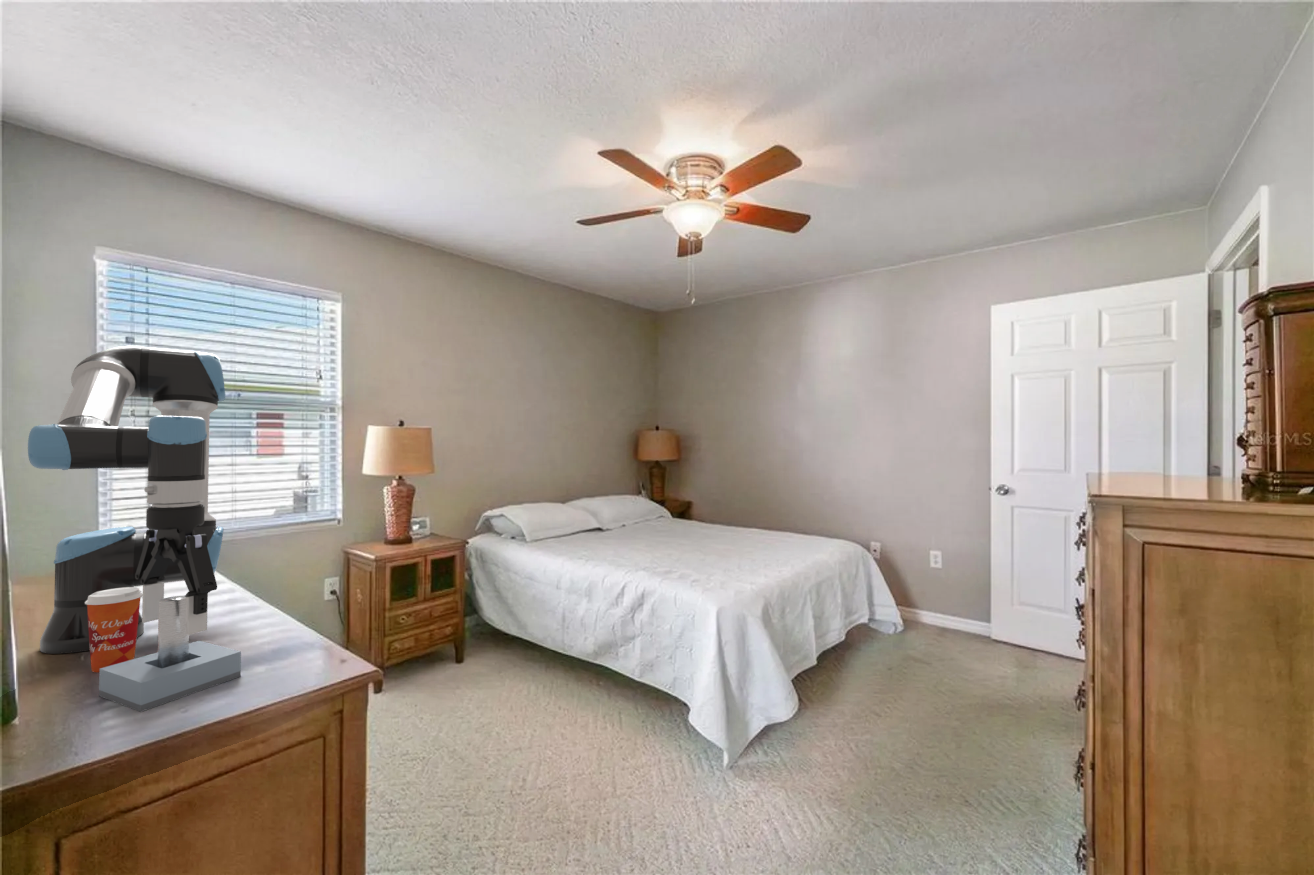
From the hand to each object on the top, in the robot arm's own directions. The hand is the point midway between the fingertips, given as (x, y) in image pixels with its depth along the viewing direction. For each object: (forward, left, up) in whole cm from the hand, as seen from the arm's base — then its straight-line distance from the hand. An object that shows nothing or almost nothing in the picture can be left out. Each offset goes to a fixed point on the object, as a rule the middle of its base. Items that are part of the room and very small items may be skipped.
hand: (174, 626), depth 93 cm
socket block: (0, 0, -10) cm, 10 cm away
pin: (0, 0, -9) cm, 9 cm away
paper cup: (-20, 0, -10) cm, 22 cm away
